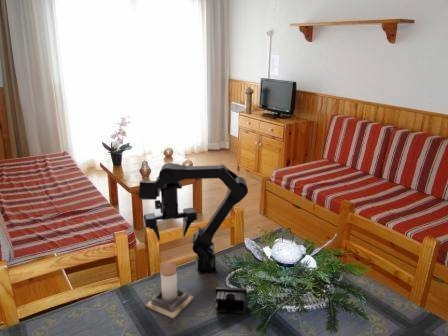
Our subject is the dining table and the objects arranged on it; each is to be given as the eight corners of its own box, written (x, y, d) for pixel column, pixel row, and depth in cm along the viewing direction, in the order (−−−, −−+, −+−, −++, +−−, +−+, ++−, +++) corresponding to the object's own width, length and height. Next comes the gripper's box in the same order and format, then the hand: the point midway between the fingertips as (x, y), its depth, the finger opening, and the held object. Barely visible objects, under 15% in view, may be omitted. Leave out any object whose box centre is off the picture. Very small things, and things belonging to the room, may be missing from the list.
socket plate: (167, 288, 131) (166, 281, 130) (193, 298, 126) (193, 291, 125) (146, 306, 122) (145, 299, 121) (173, 318, 117) (173, 311, 116)
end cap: (246, 301, 125) (247, 284, 123) (246, 316, 118) (246, 298, 116) (216, 300, 125) (216, 282, 123) (214, 314, 119) (214, 296, 117)
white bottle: (170, 293, 127) (168, 260, 123) (180, 300, 124) (179, 265, 120) (159, 301, 124) (157, 266, 120) (169, 307, 121) (167, 272, 116)
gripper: (189, 188, 144) (190, 224, 149) (139, 194, 138) (142, 232, 143) (197, 198, 134) (198, 238, 139) (144, 206, 128) (147, 246, 133)
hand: (171, 238), depth 139 cm, fingers open, 9 cm apart
